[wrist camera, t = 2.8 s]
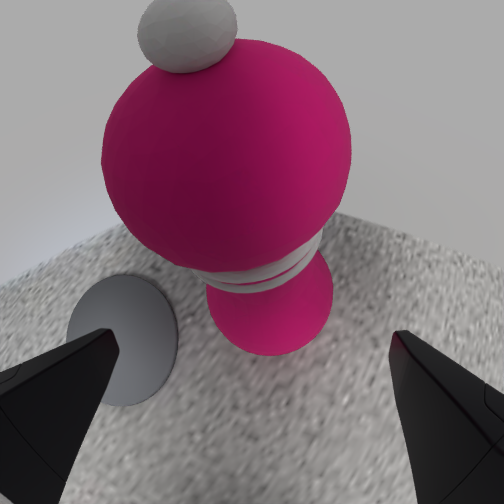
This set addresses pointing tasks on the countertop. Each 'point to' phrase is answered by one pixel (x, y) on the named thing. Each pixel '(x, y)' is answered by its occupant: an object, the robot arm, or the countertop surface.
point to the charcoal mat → (130, 335)
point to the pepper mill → (231, 170)
